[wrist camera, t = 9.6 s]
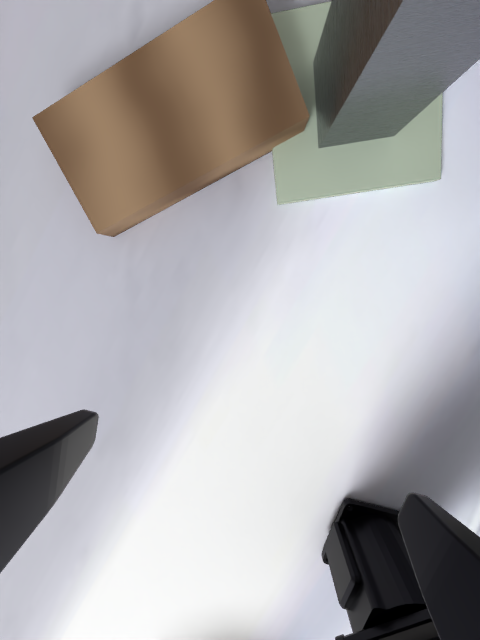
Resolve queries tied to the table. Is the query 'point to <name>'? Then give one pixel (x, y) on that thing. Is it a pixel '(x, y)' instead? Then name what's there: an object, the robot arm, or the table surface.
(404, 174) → the felt pad
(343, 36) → the grey knobbed post
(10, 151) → the table surface
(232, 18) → the brown wooden flat block
